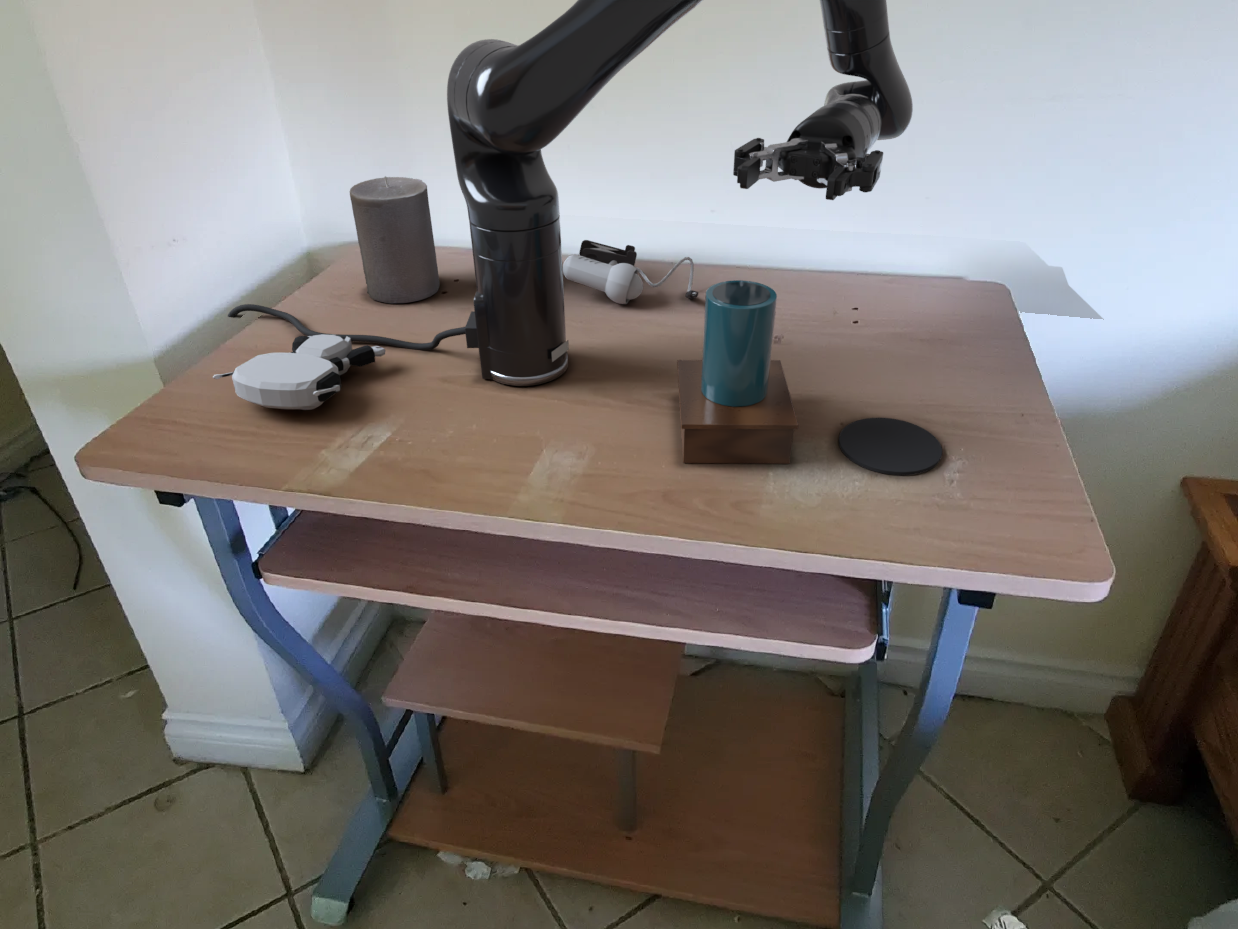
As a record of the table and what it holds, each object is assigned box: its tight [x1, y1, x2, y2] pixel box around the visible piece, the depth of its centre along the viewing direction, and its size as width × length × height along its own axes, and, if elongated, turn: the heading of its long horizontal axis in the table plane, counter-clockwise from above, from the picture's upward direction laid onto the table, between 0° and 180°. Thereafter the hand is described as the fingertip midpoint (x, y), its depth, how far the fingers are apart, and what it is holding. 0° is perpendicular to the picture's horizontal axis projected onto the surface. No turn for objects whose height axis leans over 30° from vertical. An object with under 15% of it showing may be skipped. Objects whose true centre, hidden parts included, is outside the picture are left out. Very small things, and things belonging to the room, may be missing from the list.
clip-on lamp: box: [562, 239, 699, 305], centre depth 112 cm, size 12×6×18 cm
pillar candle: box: [349, 175, 441, 304], centre depth 111 cm, size 10×10×15 cm
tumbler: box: [701, 279, 778, 407], centre depth 80 cm, size 6×6×10 cm
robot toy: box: [212, 333, 386, 411], centre depth 92 cm, size 12×4×15 cm
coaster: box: [838, 417, 943, 476], centre depth 83 cm, size 10×10×1 cm
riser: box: [676, 359, 799, 465], centre depth 84 cm, size 11×13×4 cm
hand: (786, 183), depth 82 cm, fingers open, 8 cm apart
